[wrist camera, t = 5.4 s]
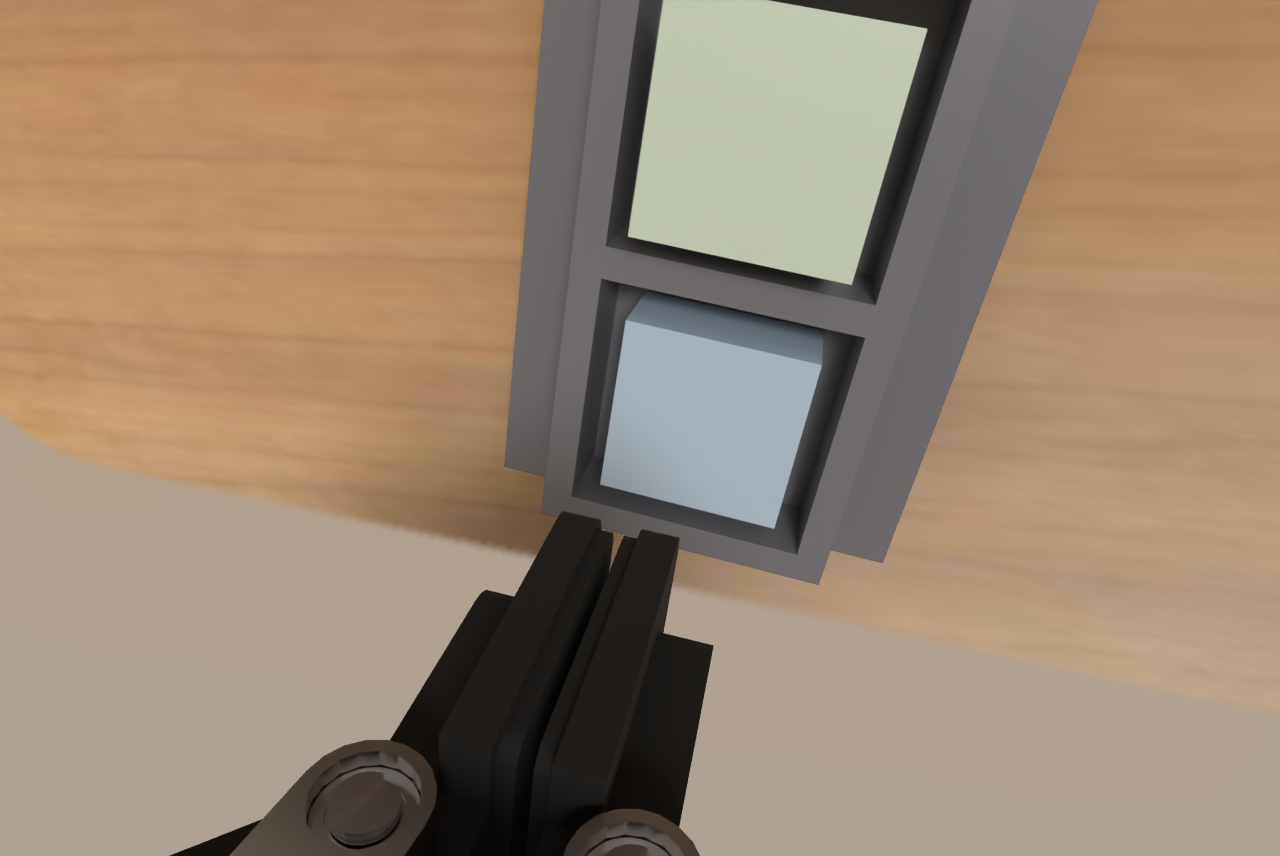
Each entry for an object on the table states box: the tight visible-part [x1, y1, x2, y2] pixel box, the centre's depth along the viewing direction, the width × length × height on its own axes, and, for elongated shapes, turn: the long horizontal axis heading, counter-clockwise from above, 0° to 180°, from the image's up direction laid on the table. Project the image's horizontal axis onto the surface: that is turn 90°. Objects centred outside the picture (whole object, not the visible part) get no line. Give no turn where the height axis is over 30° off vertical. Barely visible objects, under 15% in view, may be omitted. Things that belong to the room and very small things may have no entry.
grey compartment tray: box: [504, 0, 1098, 585], centre depth 23 cm, size 15×29×5 cm, turn 171°
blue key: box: [600, 291, 823, 529], centre depth 27 cm, size 6×6×3 cm
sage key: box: [628, 0, 927, 285], centre depth 21 cm, size 6×6×3 cm
